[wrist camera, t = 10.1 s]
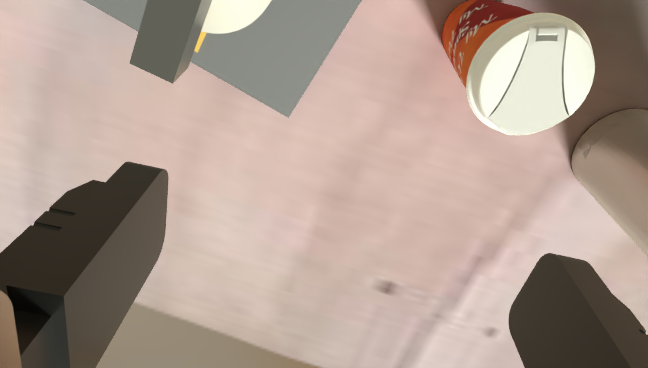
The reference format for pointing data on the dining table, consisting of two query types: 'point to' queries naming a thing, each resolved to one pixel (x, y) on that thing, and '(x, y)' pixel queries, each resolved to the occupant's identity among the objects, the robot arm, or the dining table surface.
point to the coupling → (186, 30)
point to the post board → (263, 46)
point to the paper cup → (518, 64)
